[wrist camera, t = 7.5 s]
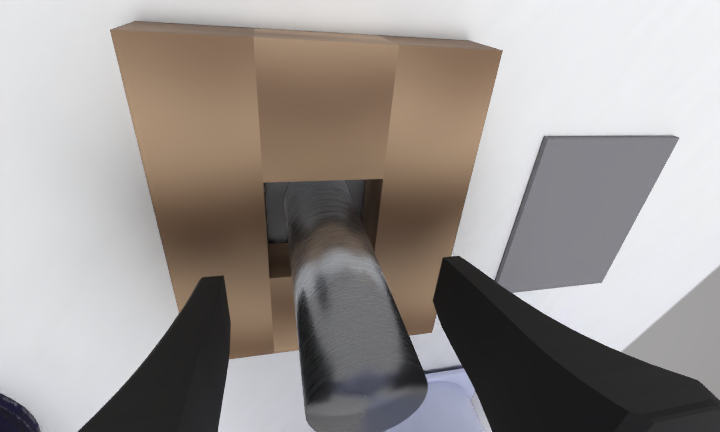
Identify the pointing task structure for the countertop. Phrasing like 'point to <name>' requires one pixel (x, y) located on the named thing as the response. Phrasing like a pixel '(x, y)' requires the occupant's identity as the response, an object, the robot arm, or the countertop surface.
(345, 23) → the countertop surface
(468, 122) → the walnut hole block
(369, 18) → the countertop surface
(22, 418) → the storage jar
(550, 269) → the rubber mat
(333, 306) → the steel peg
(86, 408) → the countertop surface
